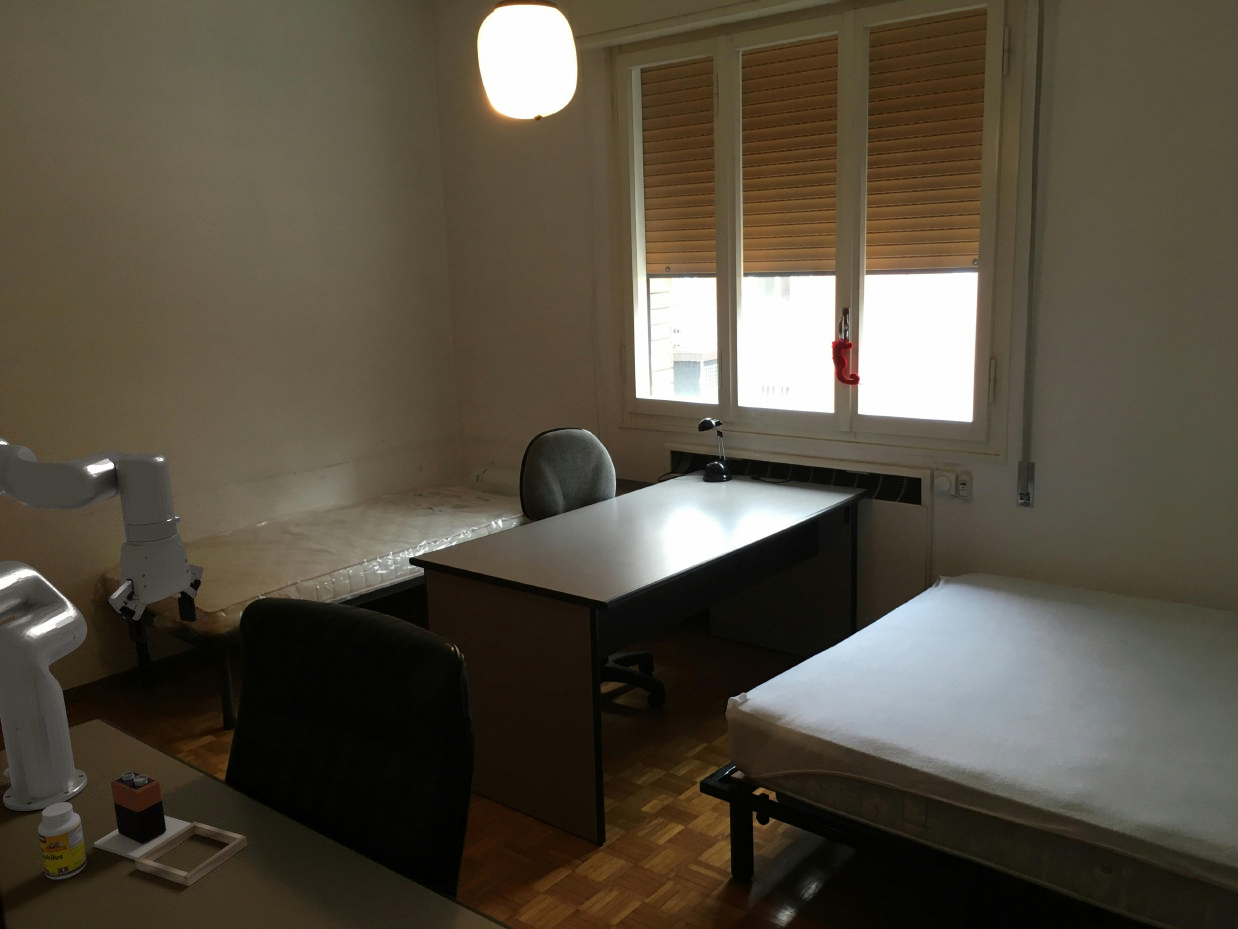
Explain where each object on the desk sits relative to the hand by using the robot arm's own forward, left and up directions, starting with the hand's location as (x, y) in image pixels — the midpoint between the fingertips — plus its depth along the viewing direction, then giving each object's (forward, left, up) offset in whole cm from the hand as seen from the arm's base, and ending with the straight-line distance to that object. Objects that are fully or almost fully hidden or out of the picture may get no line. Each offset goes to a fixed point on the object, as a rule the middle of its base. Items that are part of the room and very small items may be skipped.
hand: (164, 630), depth 159 cm
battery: (+3, -11, -30) cm, 32 cm away
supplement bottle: (0, -22, -31) cm, 38 cm away
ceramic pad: (+3, -11, -30) cm, 32 cm away
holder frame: (+15, -12, -30) cm, 36 cm away
